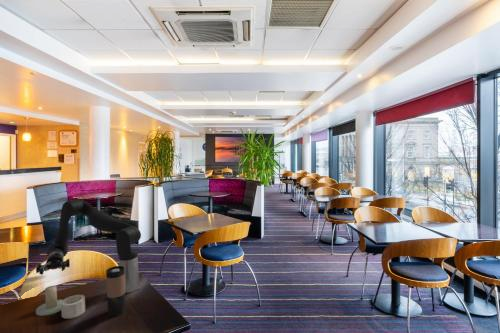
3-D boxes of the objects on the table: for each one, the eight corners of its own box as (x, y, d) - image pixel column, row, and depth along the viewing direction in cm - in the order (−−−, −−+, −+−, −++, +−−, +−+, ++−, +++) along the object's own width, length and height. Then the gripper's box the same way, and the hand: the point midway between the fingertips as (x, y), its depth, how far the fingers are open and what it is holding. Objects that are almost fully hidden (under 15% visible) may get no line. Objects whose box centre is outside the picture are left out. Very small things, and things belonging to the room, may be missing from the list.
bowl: (85, 305, 132) (84, 292, 131) (85, 314, 124) (84, 301, 124) (62, 310, 127) (61, 298, 127) (61, 320, 119) (60, 307, 119)
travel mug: (129, 307, 129) (127, 266, 128) (120, 317, 122) (118, 273, 121) (114, 306, 130) (112, 265, 129) (103, 316, 122) (102, 272, 121)
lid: (67, 299, 138) (66, 279, 137) (66, 310, 127) (65, 289, 127) (37, 306, 131) (36, 285, 131) (33, 319, 121) (32, 297, 121)
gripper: (38, 255, 148) (34, 266, 134) (70, 250, 155) (68, 260, 142) (39, 269, 148) (34, 281, 135) (70, 263, 156) (69, 274, 142)
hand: (52, 270), depth 138 cm, fingers open, 8 cm apart
